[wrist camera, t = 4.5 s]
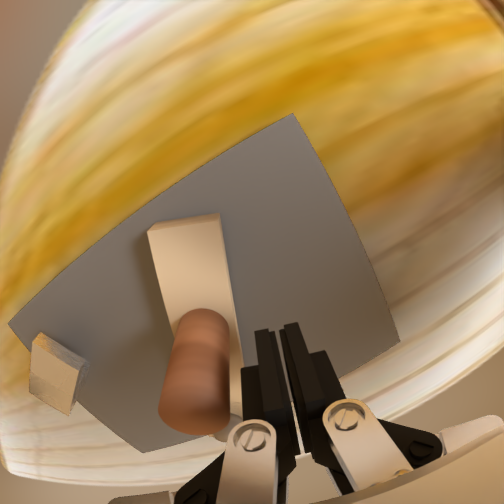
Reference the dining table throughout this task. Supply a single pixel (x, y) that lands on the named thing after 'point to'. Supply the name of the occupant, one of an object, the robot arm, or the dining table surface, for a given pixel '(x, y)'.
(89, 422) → the dining table surface
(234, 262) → the base board
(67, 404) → the block
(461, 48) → the dining table surface
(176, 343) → the ash link
